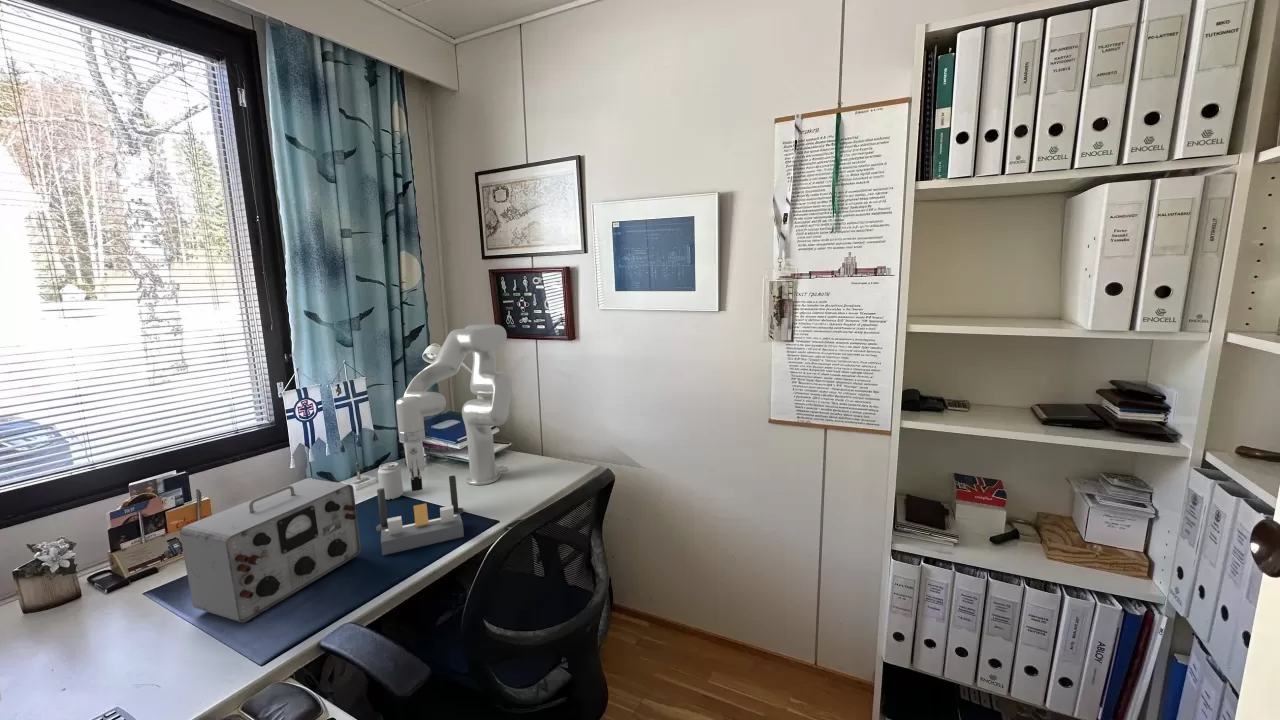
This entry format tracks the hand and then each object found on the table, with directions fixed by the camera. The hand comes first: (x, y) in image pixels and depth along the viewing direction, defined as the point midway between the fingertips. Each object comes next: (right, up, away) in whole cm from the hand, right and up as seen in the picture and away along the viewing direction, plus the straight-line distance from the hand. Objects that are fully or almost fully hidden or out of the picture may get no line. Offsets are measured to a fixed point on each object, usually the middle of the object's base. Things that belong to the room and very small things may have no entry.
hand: (417, 489), depth 165 cm
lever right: (+14, -7, -11) cm, 19 cm away
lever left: (+2, -8, -17) cm, 19 cm away
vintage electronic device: (-18, -16, -35) cm, 42 cm away
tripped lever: (+8, -8, -14) cm, 18 cm away
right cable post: (+11, -9, +3) cm, 15 cm away
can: (-17, -7, +18) cm, 26 cm away
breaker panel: (+8, -11, -14) cm, 20 cm away
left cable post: (-8, -11, -6) cm, 14 cm away
